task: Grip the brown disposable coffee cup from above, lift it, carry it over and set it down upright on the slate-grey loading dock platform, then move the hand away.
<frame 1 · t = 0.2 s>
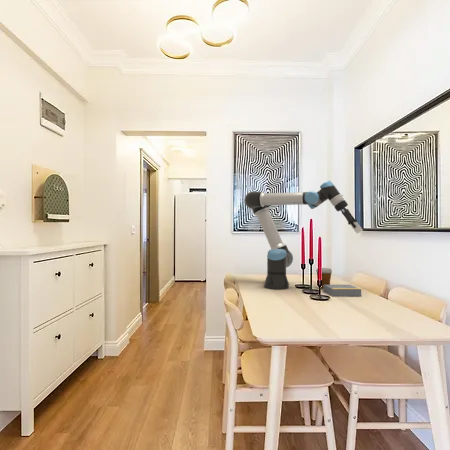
hand: (360, 232, 197), 35 cm above the table, tool tilted 35°, fingers open, 13 cm apart
disposable coffee cup: (323, 288, 203), on the table
loading dock: (341, 293, 186), on the table
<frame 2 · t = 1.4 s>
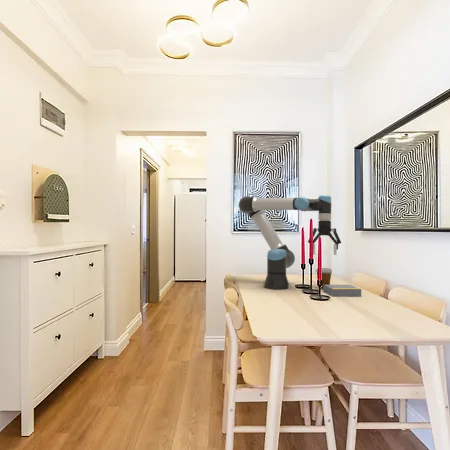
hand: (324, 254, 203), 21 cm above the table, tool pointing down, fingers open, 13 cm apart
nothing on the table moved.
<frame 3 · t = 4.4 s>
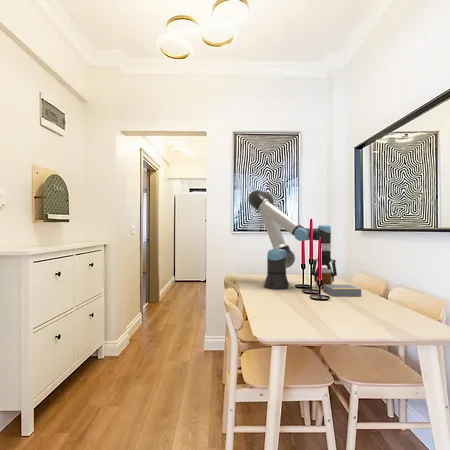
hand: (323, 287, 203), 1 cm above the table, tool pointing down, fingers closed on disposable coffee cup, 8 cm apart
disposable coffee cup: (323, 288, 203), on the table, touching gripper
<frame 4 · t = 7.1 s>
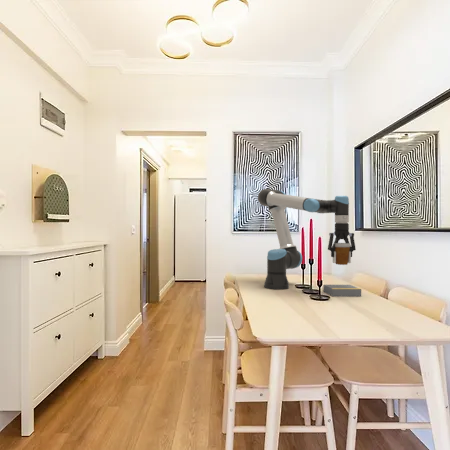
hand: (341, 262, 187), 18 cm above the table, tool pointing down, fingers closed on disposable coffee cup, 8 cm apart
disposable coffee cup: (341, 264, 187), point 17 cm above the table, touching gripper
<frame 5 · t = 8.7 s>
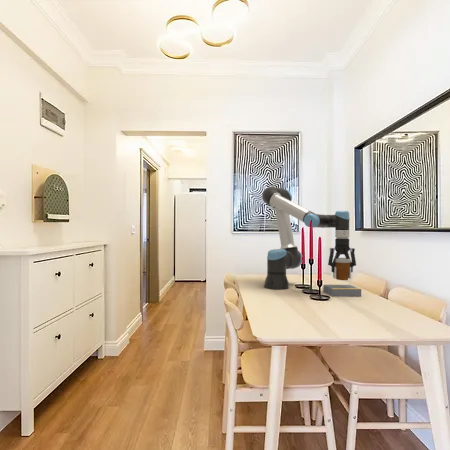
hand: (342, 278, 186), 9 cm above the table, tool pointing down, fingers closed on disposable coffee cup, 8 cm apart
disposable coffee cup: (342, 279, 186), point 8 cm above the table, touching gripper
when the fingers open (6 cm above the table, at t = 10.1 s): disposable coffee cup drops 1 cm, resting on loading dock.
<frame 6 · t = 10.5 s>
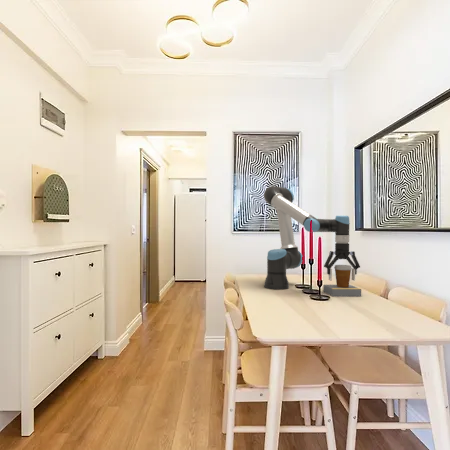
hand: (341, 280, 186), 8 cm above the table, tool pointing down, fingers open, 13 cm apart
disposable coffee cup: (342, 287, 187), point 4 cm above the table, touching loading dock
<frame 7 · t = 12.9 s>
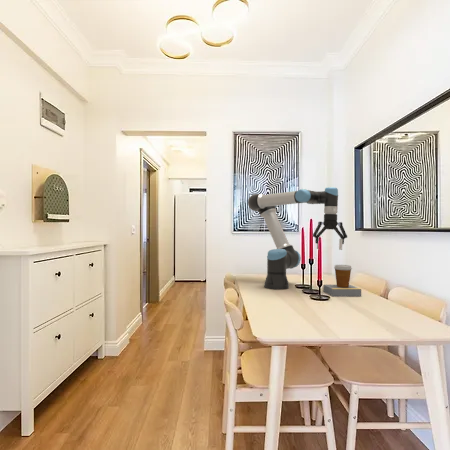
hand: (329, 249, 195), 24 cm above the table, tool pointing down, fingers open, 13 cm apart
nothing on the table moved.
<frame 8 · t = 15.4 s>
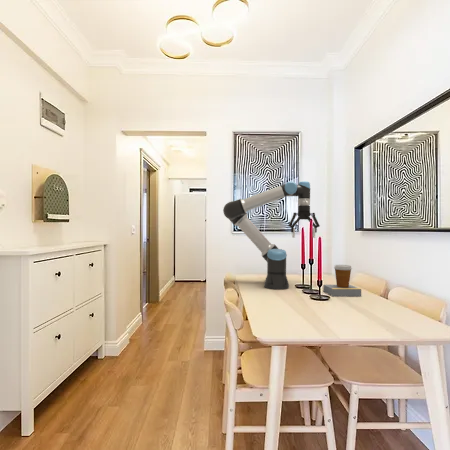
hand: (303, 237, 216), 31 cm above the table, tool pointing down, fingers open, 13 cm apart
nothing on the table moved.
at the end: disposable coffee cup inside the target area on the loading dock (0.6 cm from its centre), point 3.8 cm above the loading dock's base; disposable coffee cup tilted 0°; the gripper is holding nothing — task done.
